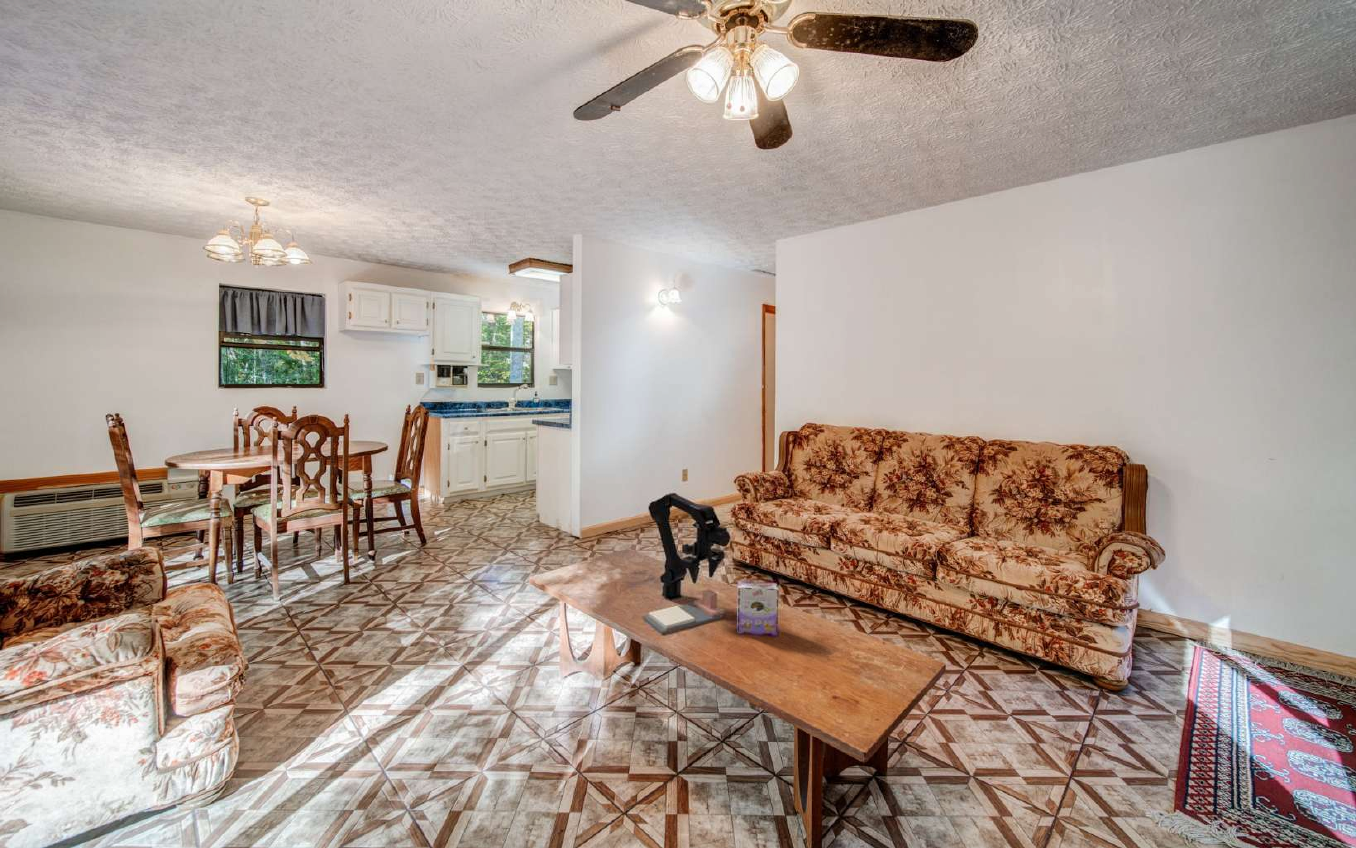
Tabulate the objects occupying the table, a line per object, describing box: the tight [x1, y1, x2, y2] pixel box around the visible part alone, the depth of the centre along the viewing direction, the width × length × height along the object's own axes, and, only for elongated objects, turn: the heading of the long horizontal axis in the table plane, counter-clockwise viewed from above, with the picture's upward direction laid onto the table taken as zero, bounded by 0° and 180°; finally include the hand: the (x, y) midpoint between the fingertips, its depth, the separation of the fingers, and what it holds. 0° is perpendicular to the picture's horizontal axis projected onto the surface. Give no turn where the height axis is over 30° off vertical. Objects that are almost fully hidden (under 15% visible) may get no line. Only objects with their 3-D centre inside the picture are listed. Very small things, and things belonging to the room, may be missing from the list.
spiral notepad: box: [648, 605, 695, 629], centre depth 188 cm, size 13×12×1 cm
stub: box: [693, 588, 726, 616], centre depth 196 cm, size 6×12×6 cm, turn 32°
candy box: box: [736, 581, 779, 636], centre depth 181 cm, size 14×6×16 cm, turn 84°
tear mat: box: [641, 602, 724, 635], centre depth 190 cm, size 26×14×1 cm, turn 122°
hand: (702, 580), depth 198 cm, fingers open, 9 cm apart
